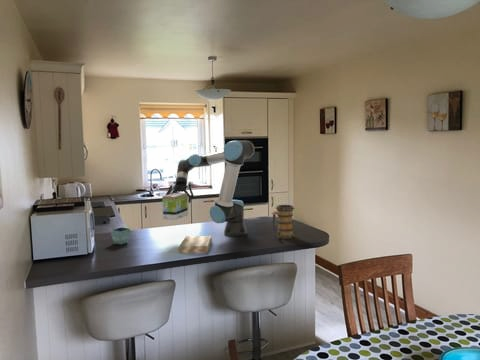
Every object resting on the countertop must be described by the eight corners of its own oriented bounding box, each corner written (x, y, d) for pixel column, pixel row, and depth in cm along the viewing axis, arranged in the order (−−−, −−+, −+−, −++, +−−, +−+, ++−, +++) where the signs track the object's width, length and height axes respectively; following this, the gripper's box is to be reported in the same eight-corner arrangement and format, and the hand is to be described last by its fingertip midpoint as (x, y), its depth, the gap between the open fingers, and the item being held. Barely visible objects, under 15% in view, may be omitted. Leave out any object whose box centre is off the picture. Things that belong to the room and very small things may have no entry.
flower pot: (131, 242, 235) (130, 228, 234) (120, 246, 228) (119, 231, 227) (122, 240, 240) (121, 227, 239) (111, 244, 232) (110, 230, 231)
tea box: (177, 220, 225) (175, 196, 224) (162, 219, 229) (161, 196, 227) (188, 215, 239) (187, 192, 238) (174, 214, 243) (173, 192, 241)
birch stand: (211, 242, 232) (211, 235, 231) (207, 253, 210) (207, 246, 209) (186, 242, 232) (185, 236, 232) (179, 253, 210) (179, 246, 210)
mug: (299, 236, 239) (299, 206, 237) (278, 241, 230) (278, 209, 228) (286, 232, 250) (286, 203, 248) (266, 237, 241) (265, 206, 238)
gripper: (200, 182, 252) (197, 209, 238) (165, 183, 253) (160, 210, 240) (198, 175, 246) (195, 202, 232) (162, 177, 247) (158, 203, 234)
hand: (178, 206), depth 236 cm, fingers closed on tea box, 11 cm apart
